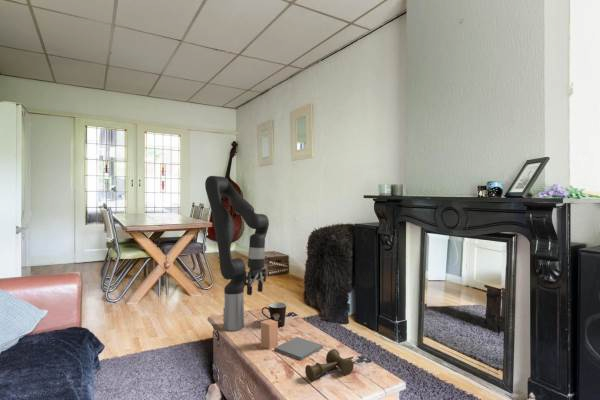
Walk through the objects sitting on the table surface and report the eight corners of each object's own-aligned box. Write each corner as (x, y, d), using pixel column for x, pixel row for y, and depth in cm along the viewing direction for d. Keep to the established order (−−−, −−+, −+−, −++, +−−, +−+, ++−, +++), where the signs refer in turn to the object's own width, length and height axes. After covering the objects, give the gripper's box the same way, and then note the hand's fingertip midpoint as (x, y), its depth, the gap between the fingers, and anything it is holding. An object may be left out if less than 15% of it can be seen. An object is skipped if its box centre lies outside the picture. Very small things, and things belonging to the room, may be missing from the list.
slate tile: (274, 350, 138) (274, 347, 138) (297, 339, 148) (297, 336, 148) (301, 360, 129) (301, 357, 129) (322, 347, 139) (322, 345, 139)
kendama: (300, 375, 118) (345, 359, 129) (316, 389, 110) (362, 370, 121) (300, 359, 118) (344, 344, 129) (315, 371, 110) (362, 354, 121)
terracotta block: (261, 346, 142) (260, 322, 142) (269, 342, 146) (269, 319, 146) (269, 349, 139) (269, 324, 139) (278, 345, 143) (277, 321, 143)
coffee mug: (290, 324, 167) (289, 304, 167) (279, 329, 160) (279, 308, 160) (271, 320, 173) (271, 300, 173) (260, 325, 166) (260, 305, 166)
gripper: (258, 255, 163) (256, 289, 162) (240, 257, 150) (238, 294, 149) (271, 256, 159) (269, 291, 158) (254, 259, 147) (252, 297, 146)
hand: (254, 293), depth 154 cm, fingers open, 8 cm apart
